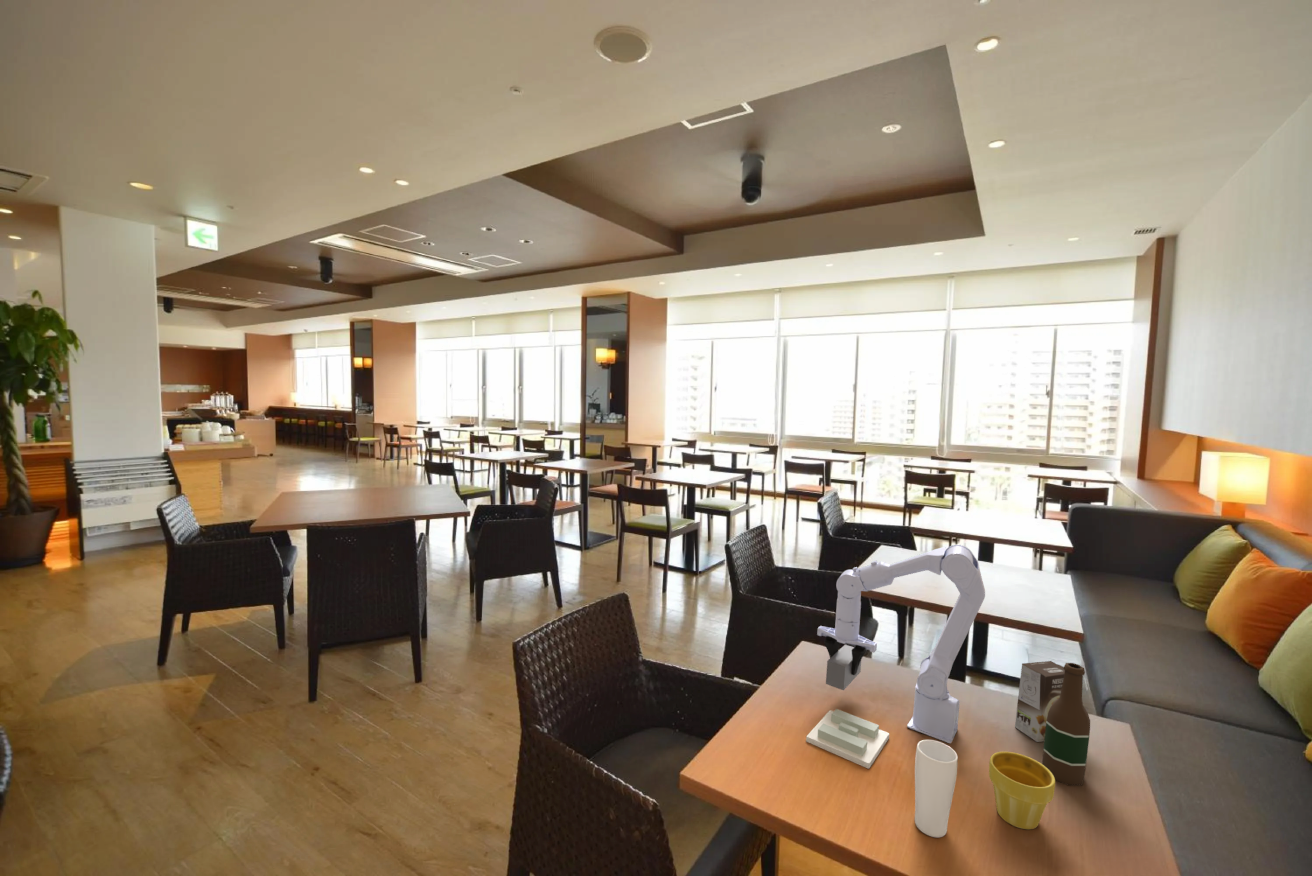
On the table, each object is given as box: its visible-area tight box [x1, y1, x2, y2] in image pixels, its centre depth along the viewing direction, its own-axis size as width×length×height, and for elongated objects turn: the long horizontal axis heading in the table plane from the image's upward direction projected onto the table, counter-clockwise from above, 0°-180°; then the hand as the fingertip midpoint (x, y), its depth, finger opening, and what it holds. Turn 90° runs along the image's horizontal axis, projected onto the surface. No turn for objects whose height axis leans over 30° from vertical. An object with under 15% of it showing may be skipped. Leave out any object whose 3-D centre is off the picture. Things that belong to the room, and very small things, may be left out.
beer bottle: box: [1041, 662, 1091, 786], centre depth 120 cm, size 8×8×24 cm
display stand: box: [805, 708, 890, 770], centre depth 130 cm, size 14×14×3 cm
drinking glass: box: [914, 739, 959, 838], centre depth 104 cm, size 7×7×15 cm
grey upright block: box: [825, 644, 862, 691], centre depth 145 cm, size 4×12×6 cm, turn 142°
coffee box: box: [1014, 660, 1065, 743], centre depth 135 cm, size 9×6×16 cm
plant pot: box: [988, 751, 1056, 830], centre depth 107 cm, size 10×10×10 cm
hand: (844, 670), depth 145 cm, fingers closed on grey upright block, 4 cm apart
